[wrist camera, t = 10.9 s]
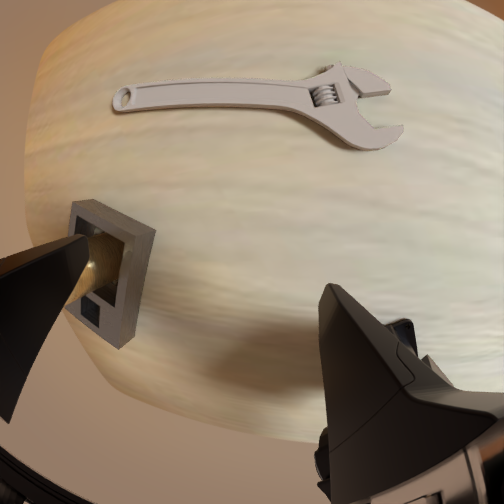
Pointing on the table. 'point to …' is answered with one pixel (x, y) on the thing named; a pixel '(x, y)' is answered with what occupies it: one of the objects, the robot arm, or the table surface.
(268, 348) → the table surface
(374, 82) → the adjustable wrench
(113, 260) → the gold tin can
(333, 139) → the table surface
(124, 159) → the table surface
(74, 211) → the grey rectangular holder
